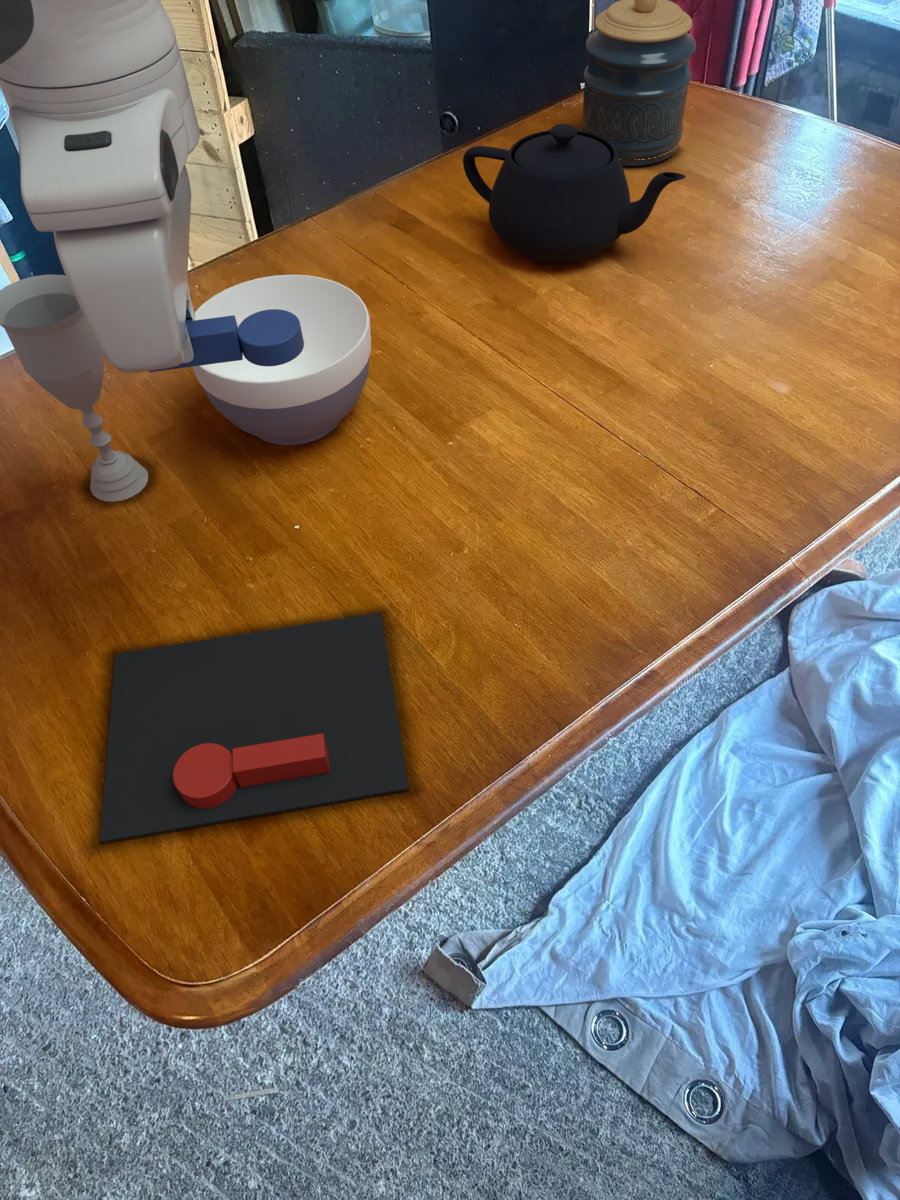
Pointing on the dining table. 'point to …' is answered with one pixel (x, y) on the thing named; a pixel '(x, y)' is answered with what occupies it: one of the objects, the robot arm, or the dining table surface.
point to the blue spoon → (246, 339)
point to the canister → (638, 79)
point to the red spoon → (245, 767)
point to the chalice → (67, 369)
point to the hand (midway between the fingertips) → (182, 342)
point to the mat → (251, 721)
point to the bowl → (307, 383)
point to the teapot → (561, 195)
